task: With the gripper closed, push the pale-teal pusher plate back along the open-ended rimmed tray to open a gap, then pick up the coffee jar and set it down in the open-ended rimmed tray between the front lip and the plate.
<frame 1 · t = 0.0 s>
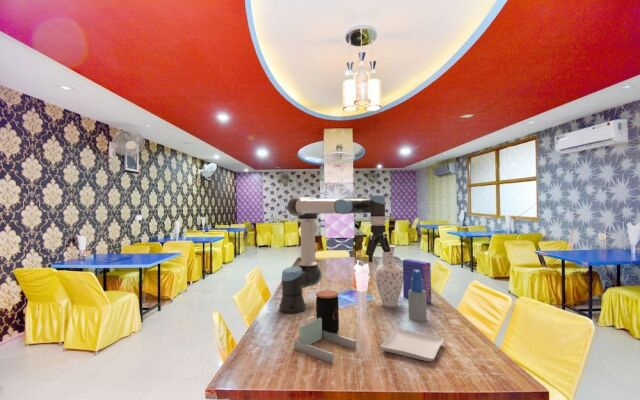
hand: (378, 266, 162), 28 cm above the table, fingers open, 13 cm apart
cereal box: (416, 300, 198), on the table
coffee jar: (327, 331, 151), on the table
open-ended rimmed tray: (325, 348, 132), on the table
pusher: (311, 330, 138), point 6 cm above the table, slide at 0.0 cm
spray bottle: (417, 319, 166), on the table
vase: (389, 305, 188), on the table
salad plate: (413, 350, 132), on the table
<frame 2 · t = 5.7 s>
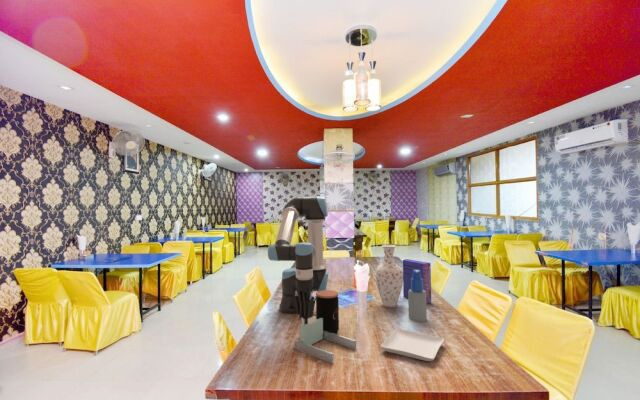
hand: (304, 332, 140), 4 cm above the table, fingers closed
pusher: (312, 330, 137), point 6 cm above the table, slide at 0.6 cm, touching gripper
everything else where it was.
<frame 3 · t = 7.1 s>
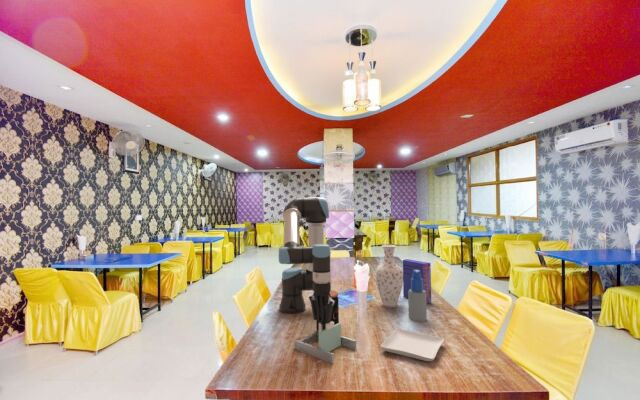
hand: (322, 338, 133), 4 cm above the table, fingers closed
pusher: (330, 336, 131), point 6 cm above the table, slide at 10.6 cm, touching gripper
everything else where it was.
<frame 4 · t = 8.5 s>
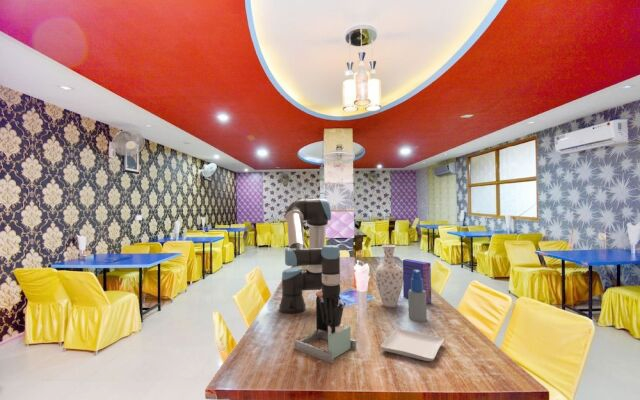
hand: (331, 341, 130), 4 cm above the table, fingers closed
pusher: (339, 339, 127), point 6 cm above the table, slide at 15.5 cm, touching gripper
everything else where it was.
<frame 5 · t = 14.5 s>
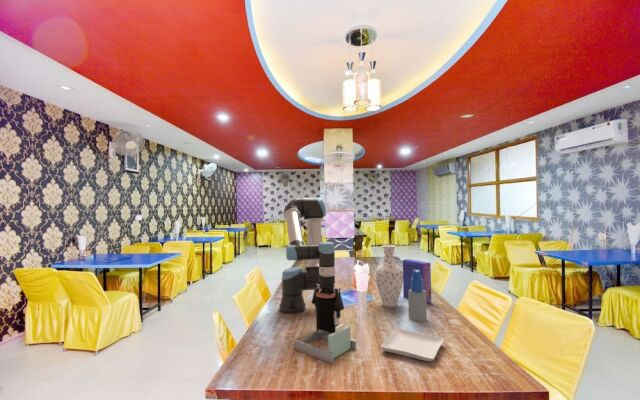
hand: (327, 321, 151), 4 cm above the table, fingers closed on coffee jar, 11 cm apart
coffee jar: (327, 331, 151), on the table, touching gripper
pusher: (339, 339, 127), point 6 cm above the table, slide at 15.5 cm
everything else where it was.
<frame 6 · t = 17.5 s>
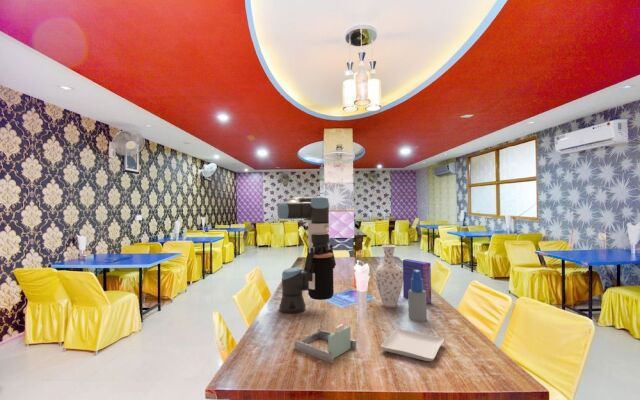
hand: (320, 286, 134), 26 cm above the table, fingers closed on coffee jar, 11 cm apart
coffee jar: (321, 297, 134), point 21 cm above the table, touching gripper
everything else where it was.
when the fingers open (6 cm above the table, at t = 21.0 s): coffee jar drops 2 cm, resting in open-ended rimmed tray.
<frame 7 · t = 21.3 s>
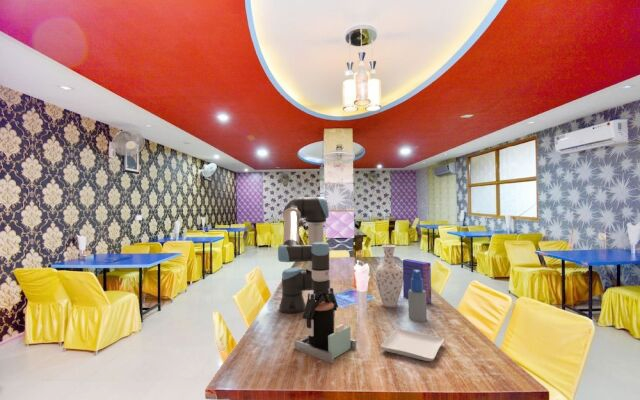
hand: (321, 330, 134), 7 cm above the table, fingers open, 13 cm apart
coffee jar: (321, 348, 134), resting in open-ended rimmed tray
everything else where it was.
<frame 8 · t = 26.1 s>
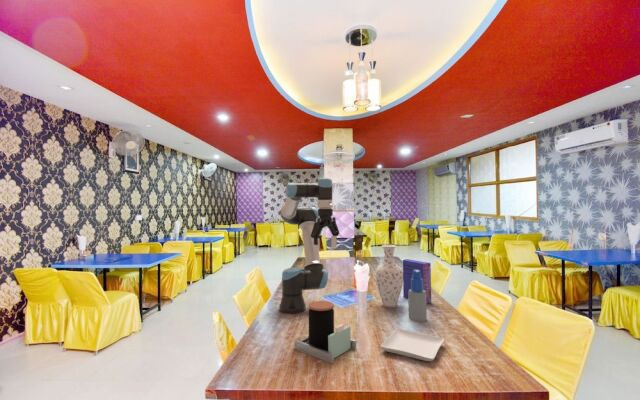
hand: (325, 249, 163), 37 cm above the table, fingers open, 13 cm apart
nothing on the table moved.
at the end: coffee jar inside the target area on the open-ended rimmed tray (0.8 cm from its centre), point 0.0 cm above the open-ended rimmed tray's base; coffee jar tilted 0°; pusher slide at 15.5 cm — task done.
